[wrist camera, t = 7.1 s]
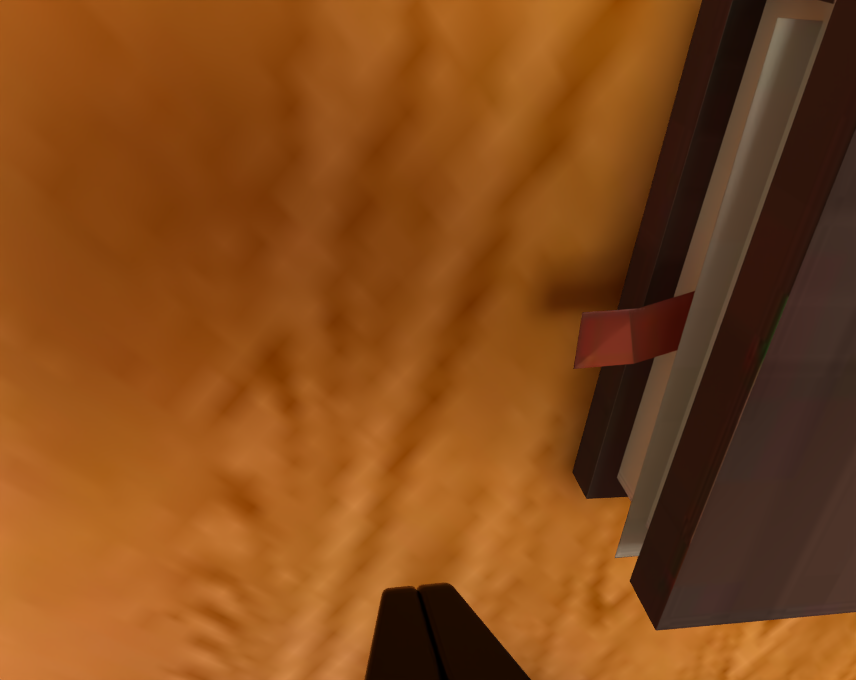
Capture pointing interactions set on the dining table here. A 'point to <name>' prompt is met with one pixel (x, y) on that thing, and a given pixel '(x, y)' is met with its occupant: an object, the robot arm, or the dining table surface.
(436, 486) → the dining table surface
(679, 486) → the decorative book
